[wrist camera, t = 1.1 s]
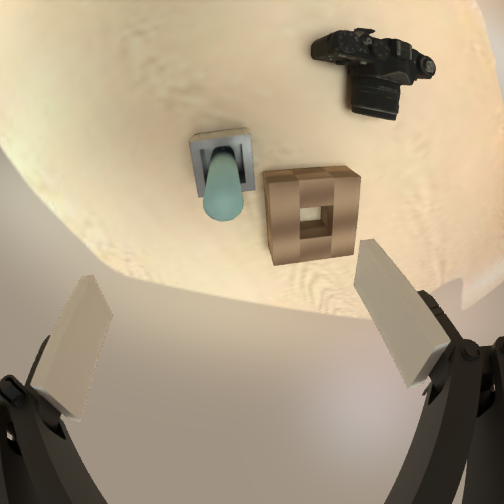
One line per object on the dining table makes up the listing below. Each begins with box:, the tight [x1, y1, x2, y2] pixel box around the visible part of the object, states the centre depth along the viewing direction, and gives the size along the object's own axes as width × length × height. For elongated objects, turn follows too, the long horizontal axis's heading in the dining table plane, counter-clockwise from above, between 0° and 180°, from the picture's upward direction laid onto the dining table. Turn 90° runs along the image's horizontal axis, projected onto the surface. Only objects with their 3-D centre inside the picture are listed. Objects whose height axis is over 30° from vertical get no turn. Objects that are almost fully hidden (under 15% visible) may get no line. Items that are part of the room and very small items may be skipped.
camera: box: [311, 28, 436, 120], centre depth 25 cm, size 14×11×10 cm
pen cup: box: [189, 128, 255, 197], centre depth 32 cm, size 7×7×6 cm
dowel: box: [203, 146, 243, 221], centre depth 27 cm, size 3×3×16 cm
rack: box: [263, 166, 361, 266], centre depth 38 cm, size 12×12×5 cm
